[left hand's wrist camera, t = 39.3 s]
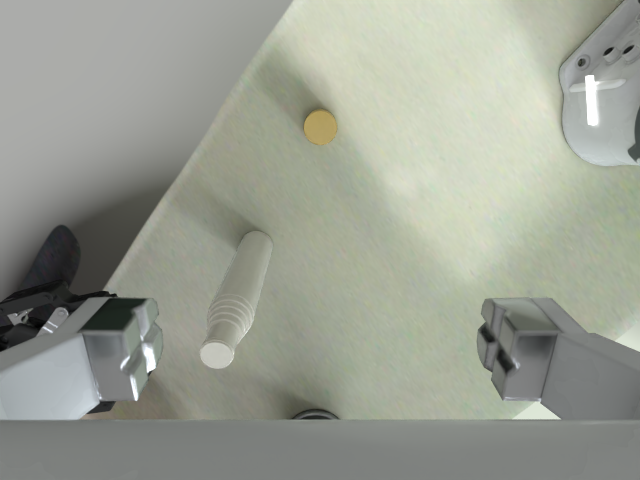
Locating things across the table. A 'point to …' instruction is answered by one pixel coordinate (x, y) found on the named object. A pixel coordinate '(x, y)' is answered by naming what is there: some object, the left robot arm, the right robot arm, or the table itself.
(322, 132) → the cap
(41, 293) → the right robot arm
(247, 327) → the bottle
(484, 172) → the table surface
